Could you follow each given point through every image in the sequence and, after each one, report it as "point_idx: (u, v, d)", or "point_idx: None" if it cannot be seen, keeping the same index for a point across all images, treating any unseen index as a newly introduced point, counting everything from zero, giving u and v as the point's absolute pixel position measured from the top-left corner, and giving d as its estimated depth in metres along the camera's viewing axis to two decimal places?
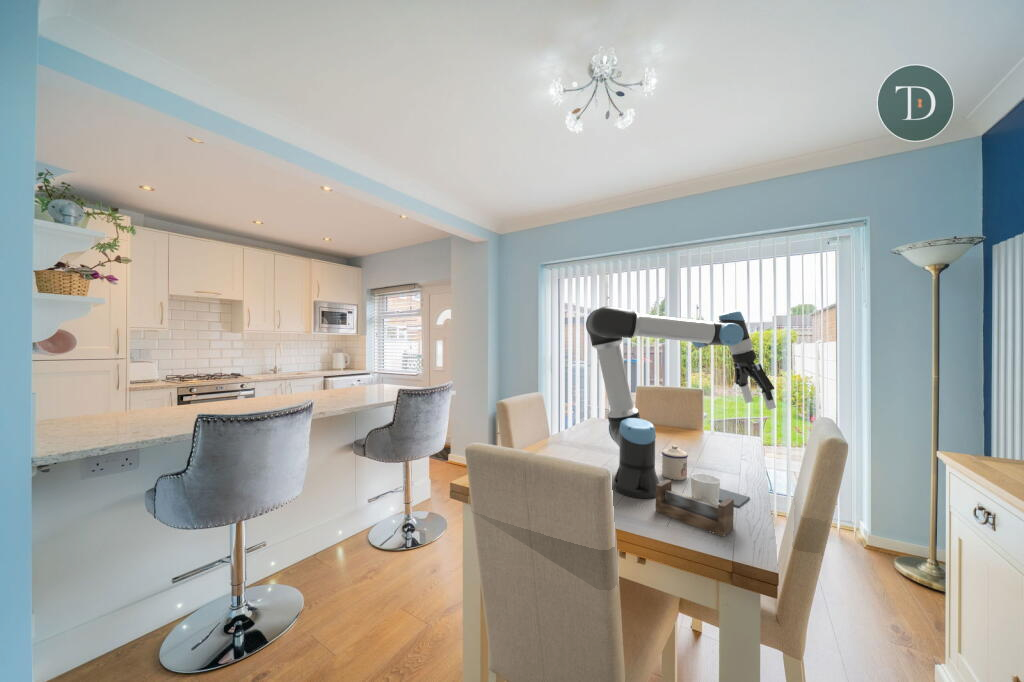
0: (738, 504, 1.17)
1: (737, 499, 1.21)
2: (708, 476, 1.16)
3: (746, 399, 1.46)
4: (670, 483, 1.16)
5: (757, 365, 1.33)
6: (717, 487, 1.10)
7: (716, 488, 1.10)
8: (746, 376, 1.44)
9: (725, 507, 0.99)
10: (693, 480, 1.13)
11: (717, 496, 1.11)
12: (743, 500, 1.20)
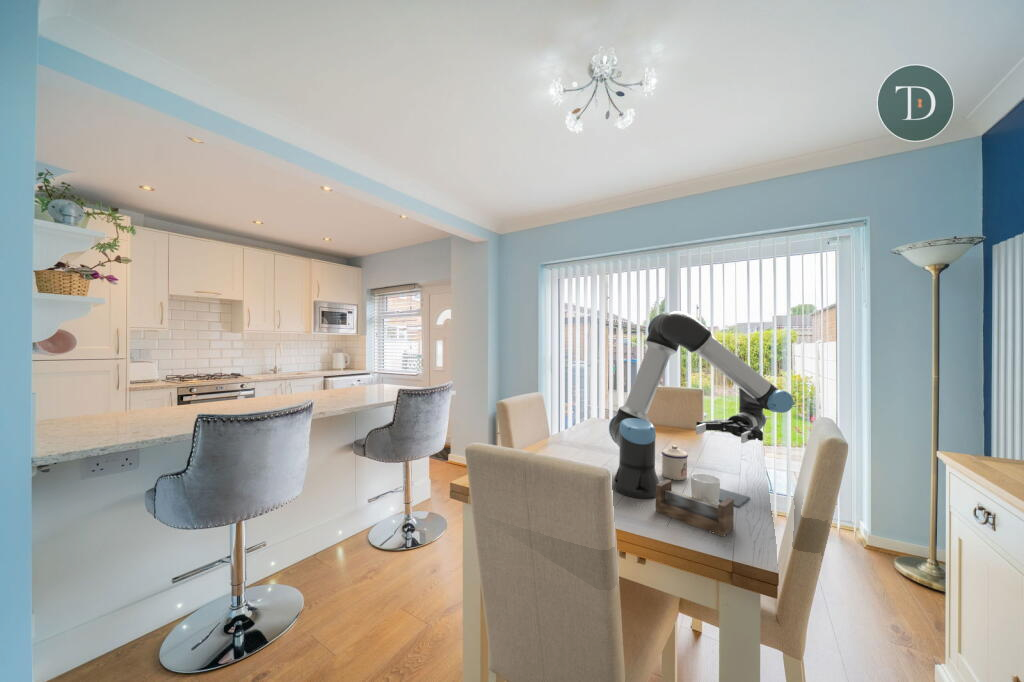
0: (738, 504, 1.17)
1: (737, 499, 1.21)
2: (708, 476, 1.16)
3: (699, 426, 1.26)
4: (670, 483, 1.16)
5: None
6: (717, 487, 1.10)
7: (716, 488, 1.10)
8: (717, 428, 1.30)
9: (725, 507, 0.99)
10: (693, 480, 1.13)
11: (717, 496, 1.11)
12: (743, 500, 1.20)
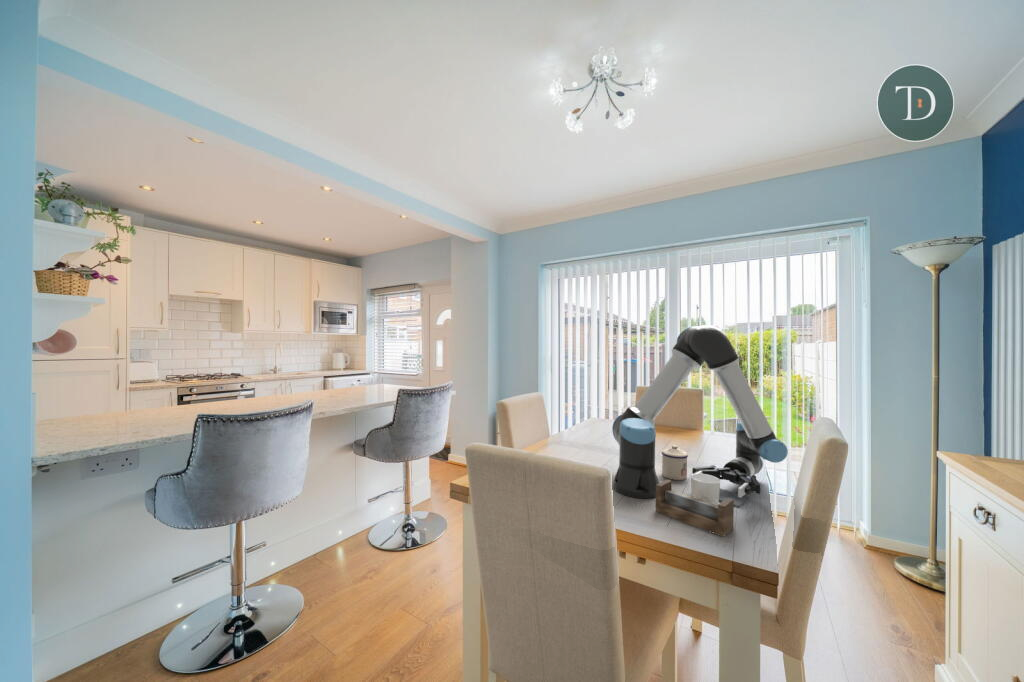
0: (738, 504, 1.17)
1: (737, 499, 1.21)
2: (708, 476, 1.16)
3: None
4: (670, 483, 1.16)
5: None
6: (717, 487, 1.10)
7: (716, 488, 1.10)
8: None
9: (725, 507, 0.99)
10: (693, 480, 1.13)
11: (717, 496, 1.11)
12: (743, 500, 1.20)
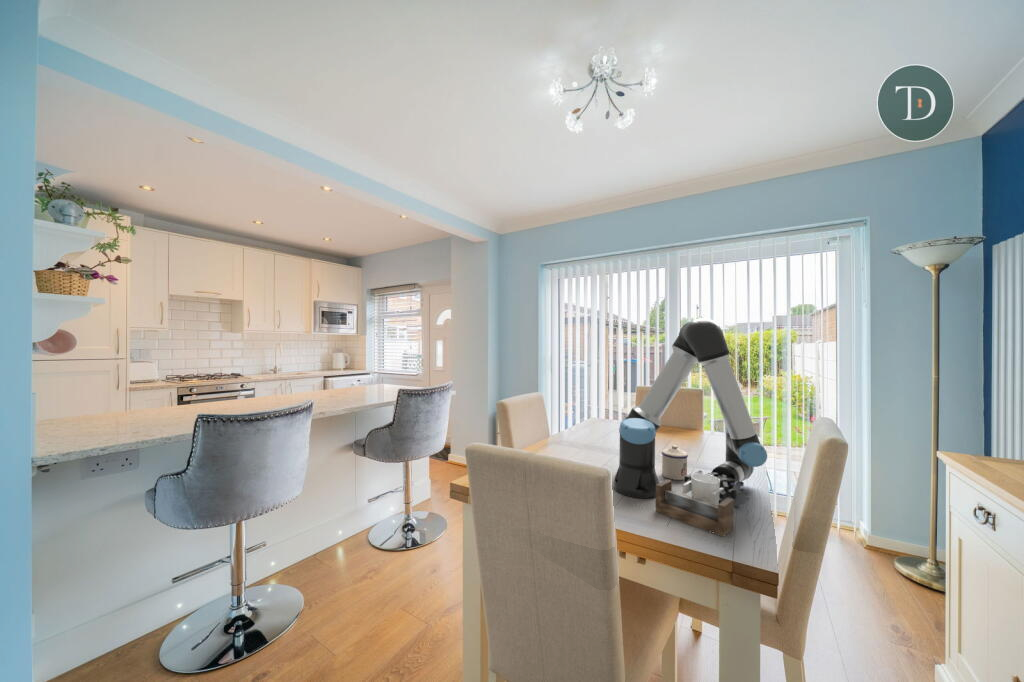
0: (738, 504, 1.17)
1: (737, 499, 1.21)
2: (708, 476, 1.16)
3: (687, 485, 1.14)
4: (670, 483, 1.16)
5: (743, 487, 1.16)
6: (717, 487, 1.10)
7: (716, 488, 1.10)
8: None
9: (725, 507, 0.99)
10: (693, 480, 1.13)
11: None
12: (743, 500, 1.20)
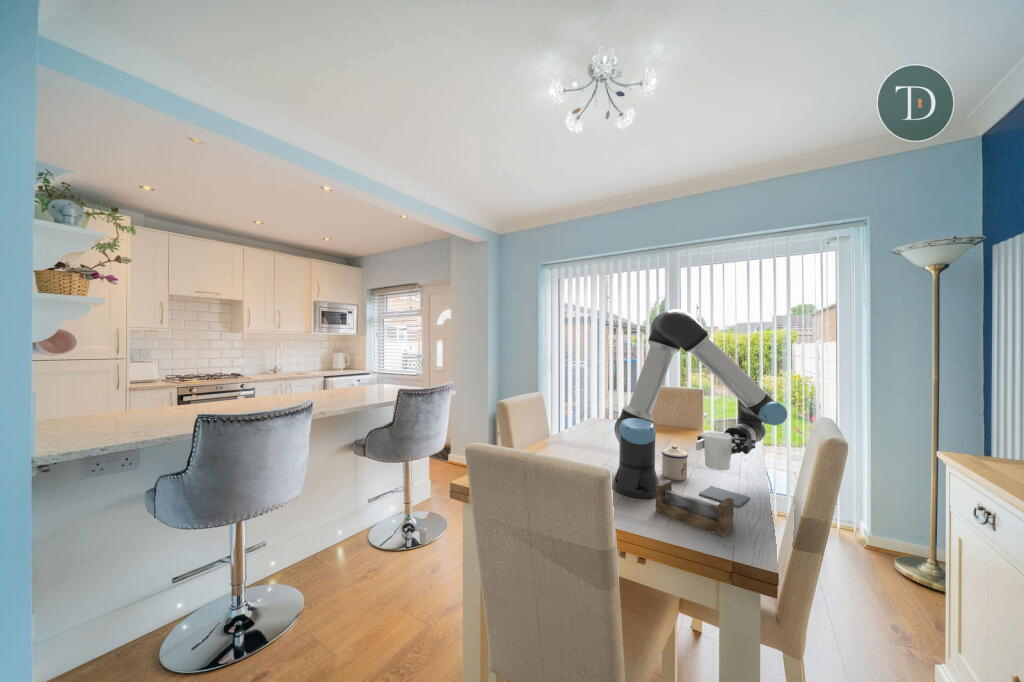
0: (738, 504, 1.17)
1: (737, 499, 1.21)
2: (720, 434, 1.20)
3: (700, 442, 1.18)
4: (670, 483, 1.16)
5: None
6: (729, 442, 1.14)
7: (728, 443, 1.14)
8: None
9: (725, 507, 0.99)
10: (705, 437, 1.17)
11: None
12: (743, 500, 1.20)
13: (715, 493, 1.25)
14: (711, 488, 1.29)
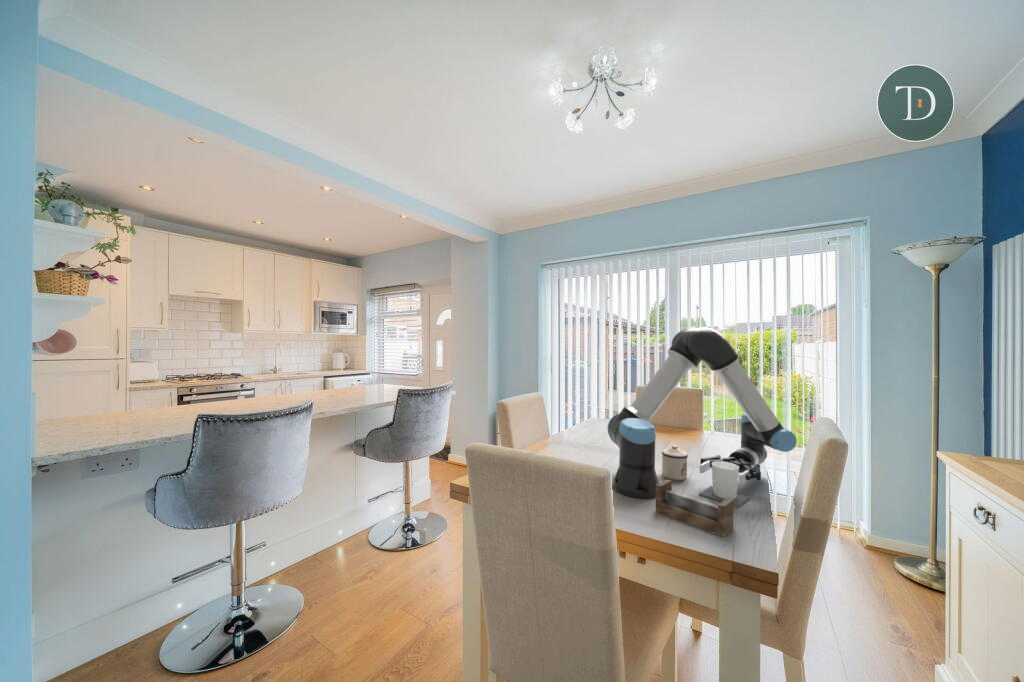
0: (738, 504, 1.17)
1: (737, 499, 1.21)
2: (727, 463, 1.27)
3: (703, 465, 1.26)
4: (670, 483, 1.16)
5: None
6: (736, 473, 1.20)
7: (735, 474, 1.20)
8: None
9: (725, 507, 0.99)
10: (714, 467, 1.23)
11: (736, 481, 1.21)
12: (743, 500, 1.20)
13: None
14: (711, 488, 1.29)
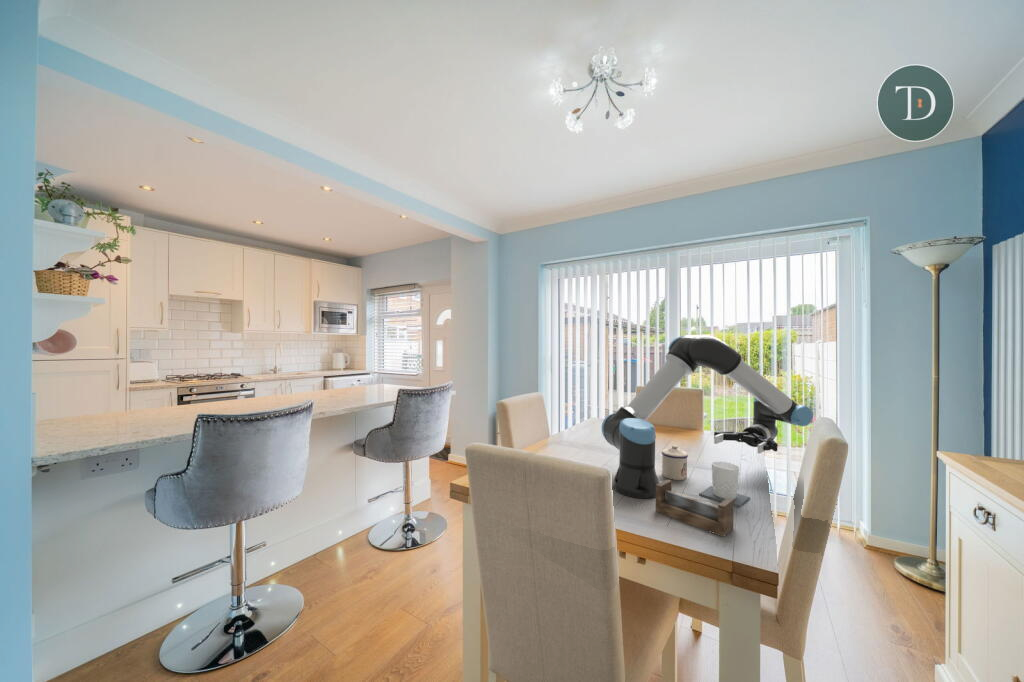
0: (738, 504, 1.17)
1: (737, 499, 1.21)
2: (727, 463, 1.27)
3: (718, 437, 1.36)
4: (670, 483, 1.16)
5: None
6: (736, 473, 1.20)
7: (735, 474, 1.20)
8: (734, 439, 1.40)
9: (725, 507, 0.99)
10: (714, 467, 1.23)
11: (736, 481, 1.21)
12: (743, 500, 1.20)
13: None
14: (711, 488, 1.29)
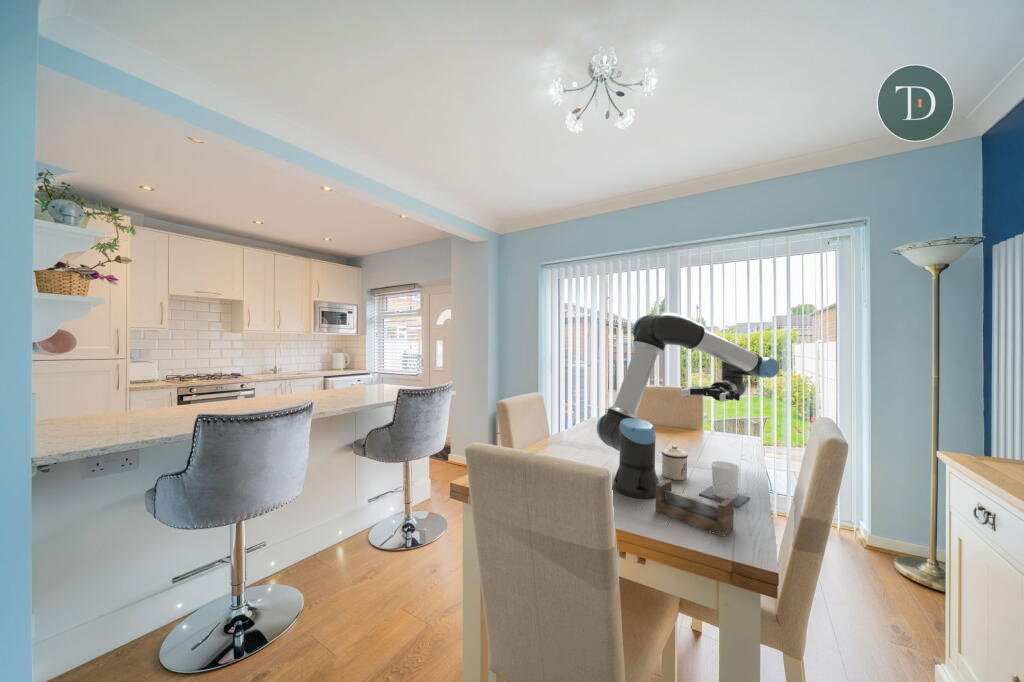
0: (738, 504, 1.17)
1: (737, 499, 1.21)
2: (727, 463, 1.27)
3: (684, 390, 1.40)
4: (670, 483, 1.16)
5: None
6: (736, 473, 1.20)
7: (735, 474, 1.20)
8: (701, 393, 1.44)
9: (725, 507, 0.99)
10: (714, 467, 1.23)
11: (736, 481, 1.21)
12: (743, 500, 1.20)
13: None
14: (711, 488, 1.29)
